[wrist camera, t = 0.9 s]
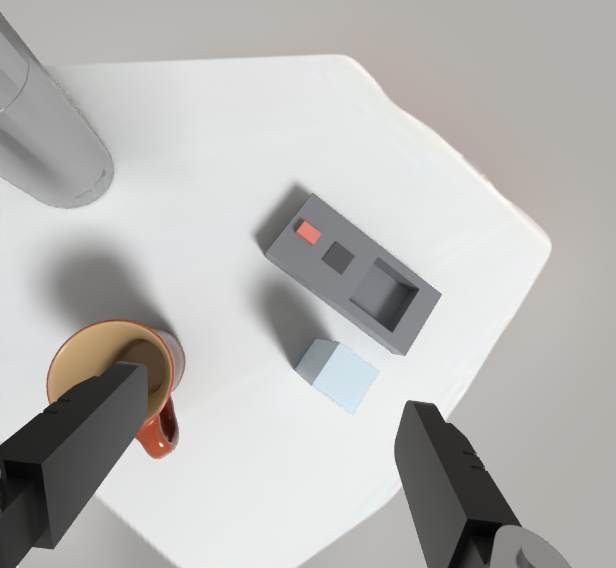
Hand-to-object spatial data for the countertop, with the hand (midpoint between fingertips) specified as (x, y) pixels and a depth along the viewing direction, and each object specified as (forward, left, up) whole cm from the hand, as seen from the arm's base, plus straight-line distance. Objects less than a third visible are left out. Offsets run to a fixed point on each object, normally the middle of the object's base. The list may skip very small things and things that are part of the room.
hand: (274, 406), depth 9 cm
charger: (+8, +3, -27) cm, 28 cm away
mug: (-6, -8, -27) cm, 29 cm away
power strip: (+5, +14, -27) cm, 30 cm away
